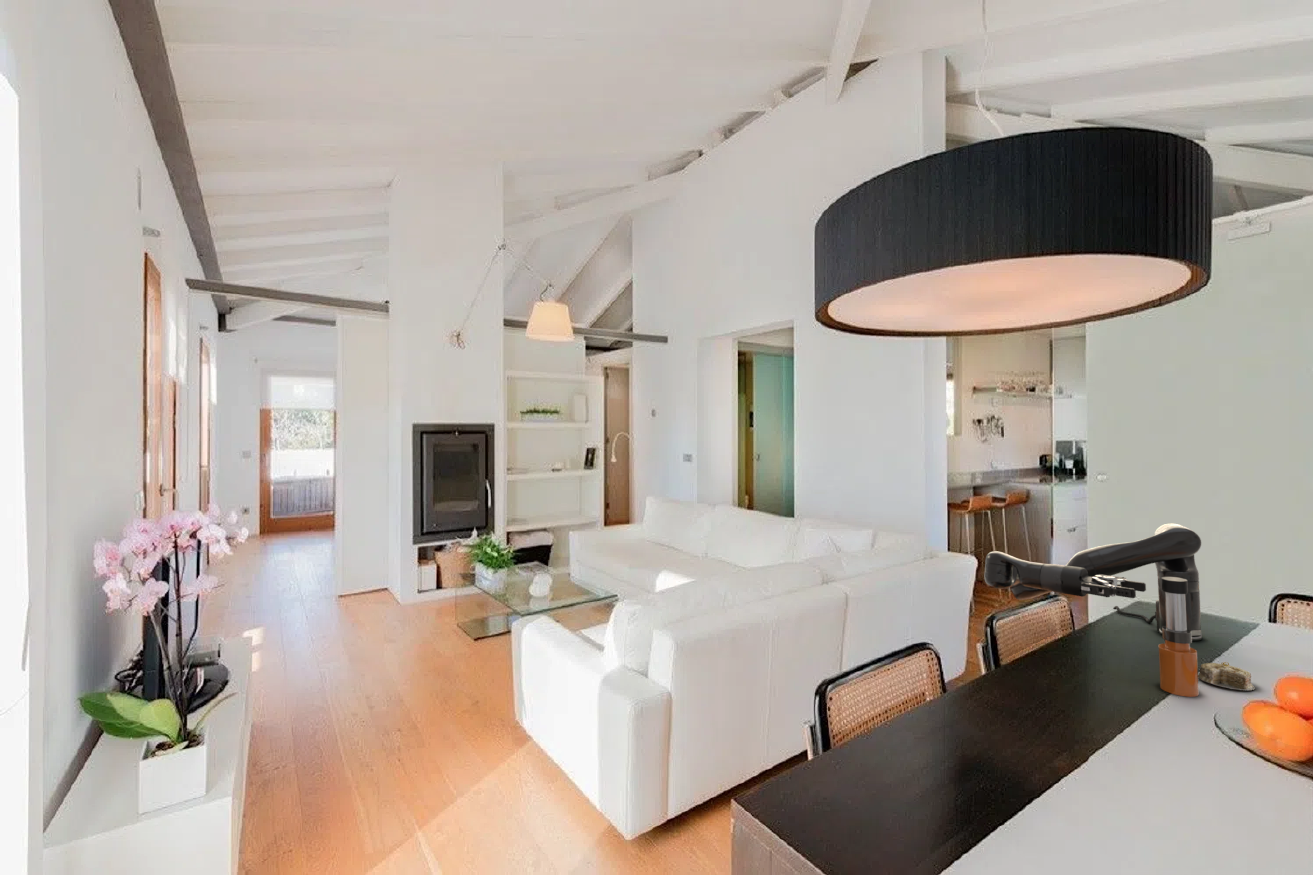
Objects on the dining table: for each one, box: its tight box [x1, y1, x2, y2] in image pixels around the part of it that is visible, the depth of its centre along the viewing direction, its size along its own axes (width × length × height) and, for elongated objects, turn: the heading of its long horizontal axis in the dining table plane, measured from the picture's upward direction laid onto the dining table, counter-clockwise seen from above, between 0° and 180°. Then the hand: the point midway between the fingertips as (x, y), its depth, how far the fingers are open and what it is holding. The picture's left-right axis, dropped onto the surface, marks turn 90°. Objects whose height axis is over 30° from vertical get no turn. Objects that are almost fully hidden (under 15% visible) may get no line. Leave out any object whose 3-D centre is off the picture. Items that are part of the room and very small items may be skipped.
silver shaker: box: [1162, 577, 1188, 632], centre depth 137 cm, size 5×5×12 cm
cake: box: [1198, 661, 1256, 691], centre depth 140 cm, size 10×10×5 cm
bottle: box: [1157, 626, 1200, 698], centre depth 137 cm, size 7×7×14 cm
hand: (1140, 590), depth 142 cm, fingers open, 8 cm apart
